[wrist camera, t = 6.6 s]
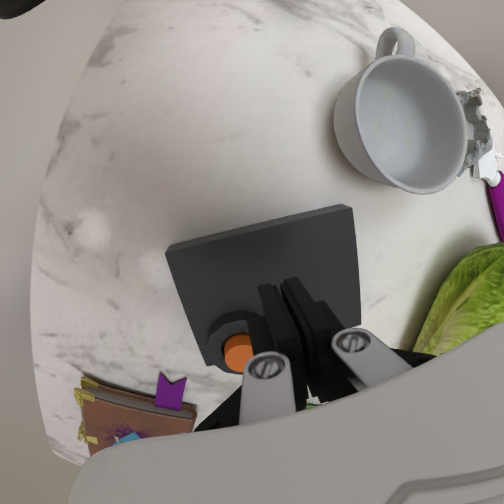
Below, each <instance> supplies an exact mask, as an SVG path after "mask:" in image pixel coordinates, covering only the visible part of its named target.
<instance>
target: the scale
mask: <svg viewBox="0 0 504 504" xmlns="http://www.w3.org/2000/svg"><path fill="white" fill-rule="evenodd" d="M165 255H166V259H167V262H168V265H169V268H170V271H171V274H172V277H173V280H174V282H175V285H176V288H177V291H178V294H179V297H180V299H181V302H182V305H183V308H184V310H185V313H186V316H187V318H188V321H189V324H190V326H191V329H192V331H193V334H194V336H195V339H196V341H197V344H198V346H199V349H200V351H201V354H202V356H203V359H204V361H205V363H206V366H211V365H215V366H217V367H218V368H220V369H221V370H222V371H224V372H227V373H233V374H239V375H243V372H237V371H234V370H232V369H230V368H229V367H228V366H227V364H226V362H225V352H224V346H225V343H226V341H227V340H228V339H229V338H230V337H232V336H234V335H237V334H248V335H249V331H248V326H247V321H246V320H247V319H251V318H256V317H260V316H264V315H263V311H262V306H261V302H260V297H259V292H258V288H257V286H258V285H262V284H267V283H271V286H273V285H276V286H277V288H278V290H279V292H280V294H281V290H280V284H281V283H284V279H287V278H291V277H295V276H297V277H298V278H299V280H300V281H301V283H302V284H303V286H304V287H305V288H306V290H307V291H308V293H309V294H310V296H311V297H312V299H313V300H314V302H318V301H321V300H324V301H325V302H326V303H327V305H328V306H329V307H330V309H331V310H332V311H333V313H334V314H335V315H336V317H337V318H338V319H339V321H340V322H341V324H342V325H343V326H344V328H345V329H349V328H352V327H355V326H358V325H361V302H360V283H359V268H358V256H357V246H356V236H355V227H354V219H353V211H352V208H351V207H349V206H346V205H343V204H340V205H335V206H331V207H326V208H322V209H317V210H313V211H309V212H304V213H300V214H295V215H291V216H287V217H283V218H278V219H274V220H270V221H266V222H262V223H257V224H253V225H249V226H245V227H241V228H237V229H233V230H229V231H225V232H221V233H217V234H213V235H209V236H205V237H201V238H197V239H193V240H189V241H186V242H182V243H178V244H174V245H170V246H169V247H168V249H167V251H166V252H165Z"/></svg>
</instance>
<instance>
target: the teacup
mask: <svg viewBox="0 0 504 504" xmlns="http://www.w3.org/2000/svg"><path fill="white" fill-rule="evenodd" d="M396 41H398V49H397V52H396V55H392V51H393V48H394V45H395V43H396ZM414 54H415V45H414V41H413V38H412V36H411V35H410V34H409V33H408V32H406V31H405V30H403V29H400V28H396V27H391V28H388V29H386V30H384V32H383V33H382V34H381V36H380V38H379V41H378V45H377V50H376V58H375V61H374V62H372V63H371V64H370V65H369V66H368V67H367V68H366V69H364V70H363V71H361V72H360V73H358V74H357V75H356V76H354V77H353V78H352V79H351V80H350V81H349V82H348V83H347V84H346V85H345V86H344V87H343V89H342V90H341V92H340V94H339V96H338V98H337V101H336V104H335V108H334V117H333V122H334V130H335V135H336V138H337V141H338V144H339V146H340V148H341V150H342V152H343V153H344V155H345V157H346V158H347V159H348V161H349V162H350V163H351V164H352V165H353V166H354V167H355V168H356V169H357V170H358V171H359V172H361V173H362V174H363V175H365V176H366V177H368V178H370V179H372V180H374V181H376V182H379V183H382V184H385V185H388V186H392V187H396V188H400V189H402V190H404V191H407V192H410V193H414V194H421V195H423V194H432V193H436V192H438V191H440V190H442V189H444V188H445V187H447V186H448V185H449V184H450V183H451V182H452V181H453V180H454V179H455V178H456V176H457V175H458V173H459V171H460V169H461V167H462V165H463V162H464V159H465V156H466V152H467V142H468V132H467V124H466V119H465V114H464V111H463V108H462V105H461V103H460V100H459V98H458V96H457V95H456V93H455V91H454V89H453V88H452V86H451V85H450V84H449V82H448V81H447V80H446V79H445V78H444V77H443V75H442V74H440V73H439V72H438V71H437V70H436V69H435V68H433V67H432V66H430V65H429V64H427V63H425V62H424V61H422V60H420V59H418V58H415V57H414Z"/></svg>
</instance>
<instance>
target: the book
mask: <svg viewBox="0 0 504 504" xmlns="http://www.w3.org/2000/svg"><path fill="white" fill-rule="evenodd" d="M186 379H187V378H186ZM186 379H183V380H181V381H179V382H176V383H174V384H172V385H171V384H170V383H169V382H168V381H167V380H166V379H165V378H164V377H163V376H162V374H161V373H160V374H159V380H158V386H157V392H156V399H154V398H150V397H145V396H141V395H137V394H133V393H129V392H125V391H121V390H117V389H114V388H110V387H107V386H103V385H100V384H98V383H97V382H95V381H93V380H91V379H89V378H83V377H81V386H82V389H79V388H74V396H75V399H76V401H77V404H78V405H80V406H81V413H82V419H83V422H82V424H81V425H80V427H79V434H78V439H77V440H79V441H81V439H84V443H85V444H86V441H87V444H88V449H89V453H90V457H91V456H92V455H93V454H95V453H97V452H99V451H101V450H103V449H105V448H108V447H111V446H114V445H117V444H120V443H124V442H128V441H133V440H137V439H144V438H150V437H158V436H168V435H174V434H177V433H181V432H184V431H186V433H192V432H194V423H195V420H196V417H197V412H196V410H195V409H194V407H193V406H192V405H185V404H181V402H182V396H183V392H184V387H185V383H186Z"/></svg>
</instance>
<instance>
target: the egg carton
mask: <svg viewBox="0 0 504 504" xmlns="http://www.w3.org/2000/svg"><path fill="white" fill-rule="evenodd" d="M480 91H481V89H480V88H477V89H476V90H473V91H471V92H468V93H467V92H465V91H459V92H456V95H457V96H458V98H459V100H460V103H461V105H462V108H463V111H464V114H465V119H466V124H467V132H468V142H467V152H466V156H465V159H464V162H463V165H462V167H461V169H460V171H459V173H458V175H457V176H458V177H460V175H461V174H462V173H463V172H464V170H465V169H466V168H469V167H470V165H473V164H475V163H476V162H477V161H478V160H479V159H480V158H481V157H482V156H483V155H485V154H486V153H488V152H489V151H490V150H491V149H492V147H493V140H492V137H491V134H490V129H489V128H488V126H487V123H486V120H487V118H486V117H485V116H483V115H481V113H480V110H479V108H478V107H480V105H482V99H481V97H480V95H479V92H480Z"/></svg>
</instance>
